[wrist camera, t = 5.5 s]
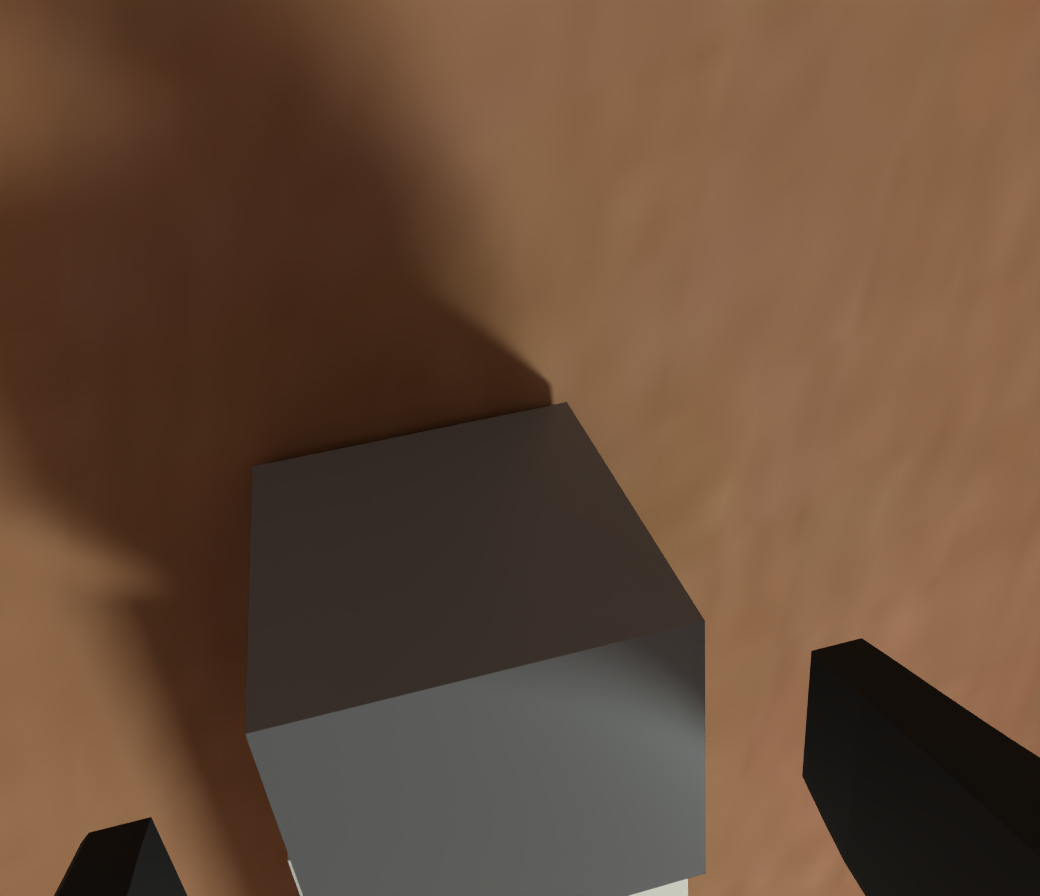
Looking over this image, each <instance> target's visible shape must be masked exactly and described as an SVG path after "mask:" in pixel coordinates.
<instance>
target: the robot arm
mask: <svg viewBox="0 0 1040 896" xmlns="http://www.w3.org/2000/svg"><path fill="white" fill-rule="evenodd" d="M802 776H803V778H804V780H805V782H806V785H807V787H808V789H809V791H810V793H811V795H812V797H813V799H814V801H815V803H816V806H817V808H818V810H819V812H820V814H821V816H822V818H823V820H824V822H825V824H826V826H827V828H828V830H829V832H830V834H831V836H832V838H833V840H834V842H835V844H836V846H837V848H838V850H839V852H840V854H841V856H842V858H843V860H844V862H845V863H846V865H847V867H848V868H849V870H850V872H851V873H852V875H853V876H854V878H855V880H856V881H857V883H858V884H859V886H860V888H861V889H862V891H863V892H864V894H865V895H866V896H1040V758H1039V757H1038V756H1036V755H1035V754H1033V753H1032V752H1030V751H1029V750H1027V749H1025V748H1024V747H1022V746H1021V745H1019V744H1018V743H1016V742H1015V741H1013V740H1011V739H1010V738H1008V737H1007V736H1005V735H1004V734H1002V733H1001V732H999V731H998V730H996V729H995V728H993V727H992V726H990V725H989V724H987V723H986V722H984V721H983V720H981V719H980V718H978V717H977V716H975V715H974V714H972V713H971V712H969V711H968V710H966V709H965V708H963V707H962V706H960V705H959V704H958V703H956V702H955V701H953V700H952V699H950V698H949V697H947V696H946V695H944V694H943V693H941V692H940V691H938V690H937V689H935V688H934V687H933V686H931V685H930V684H928V683H927V682H925V681H924V680H922V679H921V678H919V677H918V676H916V675H915V674H914V673H912V672H911V671H909V670H908V669H906V668H905V667H903V666H902V665H900V664H899V663H898V662H896V661H895V660H893V659H892V658H890V657H889V656H887V655H886V654H884V653H883V652H881V651H880V650H878V649H877V648H875V647H874V646H872V645H871V644H869V643H868V642H866V641H865V640H863V639H862V638H861V639H857V640H853V641H849V642H845V643H841V644H837V645H833V646H829V647H825V648H821V649H817V650H813V651H812V652H811V666H810V680H809V693H808V707H807V720H806V734H805V747H804V761H803V774H802ZM54 896H187V894H186V892H185V890H184V887H183V885H182V883H181V881H180V879H179V877H178V874H177V872H176V870H175V868H174V866H173V864H172V861H171V859H170V857H169V855H168V853H167V851H166V848H165V846H164V844H163V842H162V840H161V838H160V835H159V833H158V831H157V829H156V827H155V824H154V822H153V820H152V818H151V817H150V818H146V819H142V820H138V821H134V822H130V823H126V824H122V825H118V826H114V827H110V828H106V829H102V830H98V831H94V832H90V833H88V835H87V836H86V837H85V839H84V840H83V841H82V843H81V844H80V846H79V848H78V850H77V852H76V854H75V856H74V858H73V860H72V862H71V864H70V866H69V868H68V870H67V872H66V874H65V876H64V878H63V879H62V881H61V883H60V885H59V887H58V889H57V891H56V893H55V895H54Z"/></svg>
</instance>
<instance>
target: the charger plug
mask: <svg viewBox="0 0 1040 896" xmlns="http://www.w3.org/2000/svg"><path fill="white" fill-rule="evenodd" d="M245 735H246V738H247V741H248V744H249V747H250V749H251V752H252V755H253V758H254V761H255V763H256V766H257V769H258V772H259V774H260V777H261V780H262V783H263V786H264V788H265V791H266V794H267V797H268V800H269V802H270V805H271V808H272V811H273V813H274V816H275V819H276V822H277V825H278V827H279V830H280V833H281V836H282V839H283V841H284V844H285V847H286V850H287V852H288V855H289V858H290V861H291V864H292V866H293V869H294V872H295V875H296V878H297V880H298V883H299V886H300V889H301V891H302V894H303V896H629V895H632V894H636V893H639V892H643V891H646V890H650V889H653V888H657V887H660V886H664V885H667V884H670V883H674V882H677V881H681V880H684V879H688V878H691V877H695V876H698V875H702V874H705V621H704V619H703V617H702V616H701V614H700V613H699V611H698V609H697V608H696V606H695V605H694V603H693V602H692V600H691V598H690V597H689V595H688V594H687V592H686V590H685V589H684V587H683V586H682V584H681V583H680V581H679V579H678V578H677V576H676V575H675V573H674V571H673V570H672V568H671V567H670V565H669V563H668V562H667V560H666V559H665V557H664V556H663V554H662V552H661V551H660V549H659V548H658V546H657V544H656V543H655V541H654V540H653V538H652V537H651V535H650V533H649V532H648V530H647V529H646V527H645V525H644V524H643V522H642V521H641V519H640V518H639V516H638V514H637V513H636V511H635V510H634V508H633V506H632V505H631V503H630V502H629V500H628V499H627V497H626V495H625V494H624V492H623V491H622V489H621V487H620V486H619V484H618V483H617V481H616V480H615V478H614V476H613V475H612V473H611V472H610V470H609V468H608V467H607V465H606V464H605V462H604V460H603V459H602V457H601V456H600V454H599V453H598V451H597V449H596V448H595V446H594V445H593V443H592V441H591V440H590V438H589V437H588V435H587V434H586V432H585V430H584V429H583V427H582V426H581V424H580V422H579V421H578V419H577V418H576V416H575V415H574V413H573V411H572V410H571V408H570V407H569V405H568V403H567V402H565V403H560V404H555V405H551V406H546V407H541V408H536V409H531V410H526V411H521V412H516V413H511V414H507V415H502V416H497V417H492V418H487V419H482V420H477V421H472V422H467V423H463V424H458V425H453V426H448V427H443V428H438V429H433V430H428V431H423V432H419V433H414V434H409V435H404V436H399V437H394V438H389V439H384V440H380V441H375V442H370V443H365V444H360V445H355V446H350V447H345V448H340V449H336V450H331V451H326V452H321V453H316V454H311V455H306V456H301V457H296V458H292V459H287V460H282V461H277V462H272V463H267V464H262V465H257V466H252V492H251V529H250V567H249V604H248V641H247V679H246V716H245Z"/></svg>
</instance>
